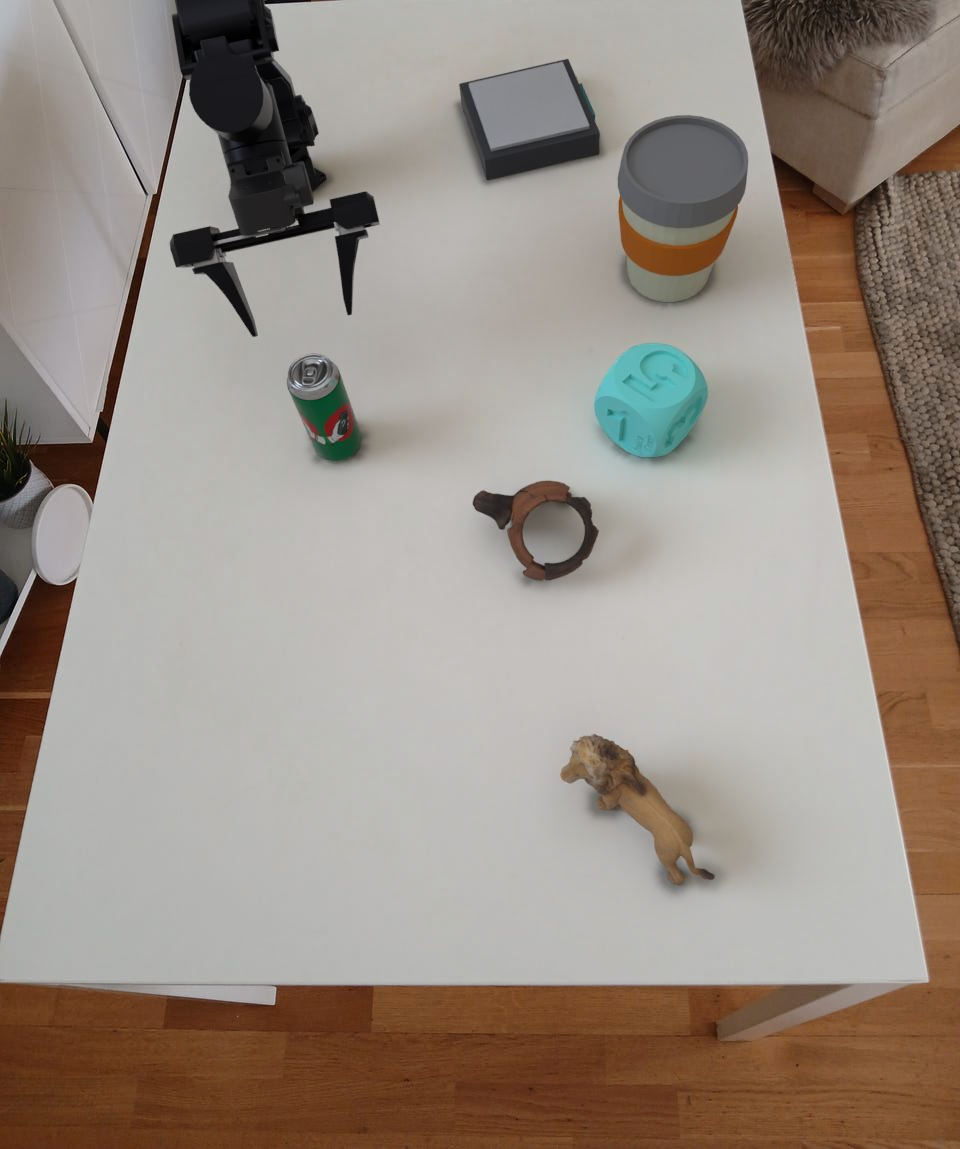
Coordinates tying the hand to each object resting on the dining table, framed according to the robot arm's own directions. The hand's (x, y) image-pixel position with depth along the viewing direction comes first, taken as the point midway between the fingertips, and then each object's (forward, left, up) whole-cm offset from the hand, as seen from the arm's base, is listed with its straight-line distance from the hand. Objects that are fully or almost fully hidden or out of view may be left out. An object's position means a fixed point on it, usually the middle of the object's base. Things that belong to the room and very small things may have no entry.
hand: (302, 325), depth 86 cm
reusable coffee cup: (+18, +36, -12) cm, 42 cm away
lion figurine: (+50, -15, -12) cm, 54 cm away
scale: (-9, +45, -12) cm, 47 cm away
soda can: (+4, -3, -12) cm, 13 cm away
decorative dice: (+28, +18, -12) cm, 36 cm away
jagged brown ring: (+27, +1, -12) cm, 30 cm away
